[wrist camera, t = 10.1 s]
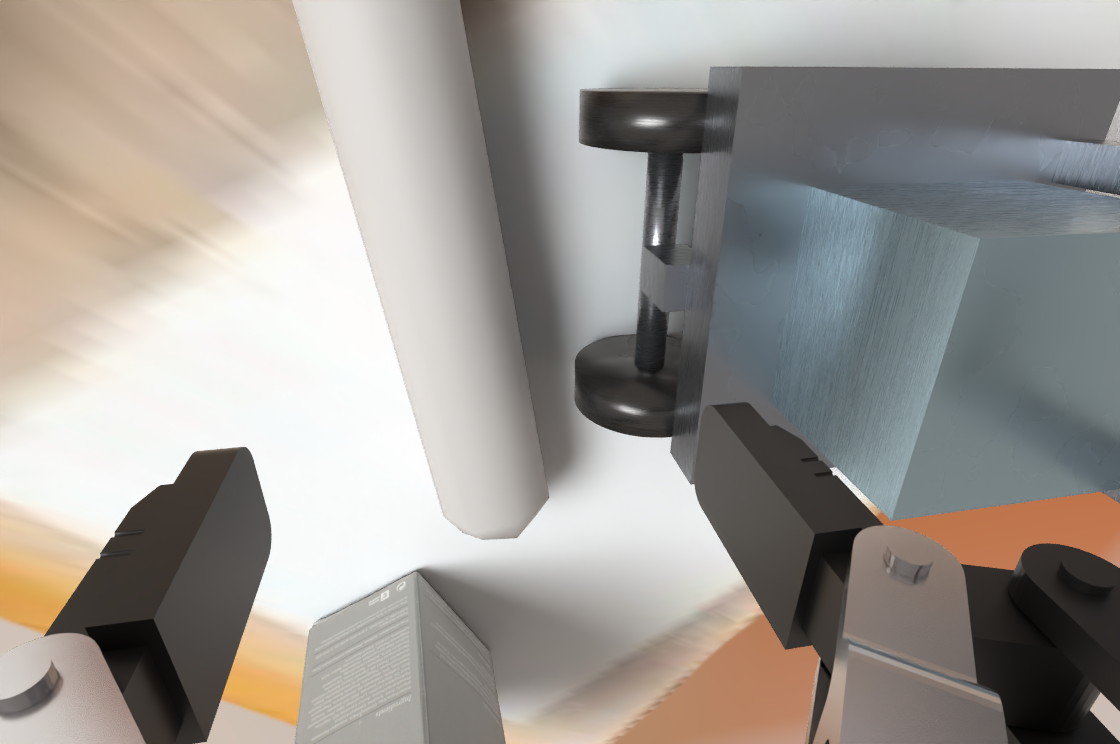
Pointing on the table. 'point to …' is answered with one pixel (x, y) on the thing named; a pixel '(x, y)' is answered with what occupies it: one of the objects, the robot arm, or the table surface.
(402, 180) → the tube
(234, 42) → the table surface
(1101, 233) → the trolley
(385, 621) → the skincare box
